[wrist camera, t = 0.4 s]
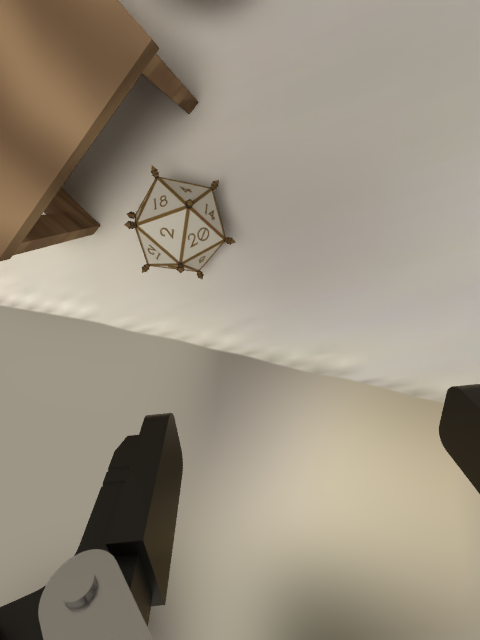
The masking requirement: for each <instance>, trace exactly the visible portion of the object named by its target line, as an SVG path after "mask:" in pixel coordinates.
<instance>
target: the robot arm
mask: <svg viewBox="0 0 480 640" xmlns="http://www.w3.org/2000/svg"><path fill="white" fill-rule="evenodd" d="M439 435H440V438H441V442H442V444H443V446H444V448H445V449H446V451H447V452H448V453H449V455H450V456H451V457H452V458H453V460H454V461H455V462H456V463H457V465H458V466H459V467H460V469H461V470H462V471H463V473H464V474H465V475H466V477H467V478H468V479H469V481H470V482H471V483H472V484H473V486H474V487H475V488H476V490H477V491H478V492H479V494H480V384H474V385H464V386H454V387H450V388H449V389H448V391H447V394H446V398H445V403H444V407H443V411H442V416H441V420H440V425H439ZM182 469H183V459H182V451H181V446H180V442H179V437H178V432H177V428H176V424H175V418H174V415H173V414H172V413H167V414H157V415H147V416H146V417H145V418H144V421H143V424H142V427H141V431H140V434H139V435H134V436H127V437H126V438H125V440H124V441H123V442H122V443H121V445H120V446H119V447H118V448H117V449H116V450H115V452H114V454H113V457H112V460H111V462H110V465H109V468H108V472H107V473H106V476H105V479H104V481H103V487H101V489H100V492H99V495H98V497H97V500H96V503H95V505H94V508H93V511H92V513H91V516H90V519H89V521H88V524H87V527H86V529H85V532H84V535H83V537H82V540H81V543H80V545H79V547H78V550H77V552H76V554H75V555H74V557H72V558H70V559H69V560H68V561H67V562H66V563H64V564H63V565H62V566H61V567H60V568H59V569H58V570H57V571H56V572H55V573H54V574H53V576H52V577H51V579H50V580H49V582H48V583H47V585H46V586H44V587H43V588H41V589H40V590H38V591H36V592H34V593H31V594H29V595H27V596H25V597H22V598H20V599H18V600H16V601H14V602H11V603H9V604H7V605H4V606H2V607H0V640H153V638H152V636H151V634H150V632H149V630H148V621H149V615H150V609H151V606H157V605H165V602H166V594H167V586H168V579H169V571H170V564H171V556H172V548H173V541H174V533H175V526H176V518H177V510H178V503H179V495H180V488H181V480H182V471H183V470H182Z"/></svg>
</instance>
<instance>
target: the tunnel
mask: <svg viewBox="0 0 480 640" xmlns="http://www.w3.org/2000/svg"><path fill="white" fill-rule="evenodd" d="M158 50H159V47H158V46H157V45H156V44H155V42H154V41H153V40H152V39H151V37H150V36H149V35H148V34H147V33H146V32H145V31H144V30H143V28H142V27H141V26H140V25H139V24H138V23H137V22H136V20H135V19H134V18H133V17H132V16H131V15H130V14H129V13H128V11H127V10H126V9H125V8H124V7H123V6H122V5H121V3H120V2H119V1H118V0H0V261H3V260H7V259H10V258H11V257H12V256H13V255H17V254H20V253H24V252H28V251H32V250H35V249H39V248H43V247H47V246H51V245H54V244H58V243H62V242H66V241H69V240H73V239H77V238H81V237H85V236H88V235H92V234H94V233H95V232H96V230H97V229H98V228H99V226H100V224H98V223H97V222H96V221H95V220H94V219H93V218H92V217H91V216H90V215H89V214H88V213H87V212H86V211H85V210H84V209H83V208H81V207H80V206H79V205H78V204H77V203H76V202H75V201H74V200H73V199H72V198H71V197H70V196H69V195H68V194H67V193H66V192H65V191H63V190H62V189H61V186H62V185H63V184H64V182H65V181H66V179H67V178H68V177H69V175H70V174H71V172H72V171H73V170H74V168H75V167H76V165H77V164H78V163H79V161H80V160H81V158H82V157H83V155H84V154H85V153H86V151H87V150H88V148H89V147H90V146H91V144H92V143H93V141H94V140H95V139H96V137H97V136H98V134H99V133H100V132H101V130H102V129H103V127H104V126H105V124H106V123H107V122H108V120H109V119H110V117H111V116H112V115H113V113H114V112H115V110H116V109H117V108H118V106H119V105H120V103H121V102H122V101H123V99H124V98H125V96H126V95H127V94H128V92H129V91H130V89H131V88H132V86H133V85H134V84H135V82H136V81H137V79H138V78H139V77H140V75H141V74H143V75H145V76H146V77H147V78H148V79H149V80H150V81H151V82H153V83H154V84H155V85H156V86H157V87H158V88H159V89H161V90H162V91H163V92H164V93H165V94H166V95H168V96H169V97H170V98H171V99H172V100H173V101H174V102H176V103H177V104H178V105H179V106H180V107H181V108H182V109H184V110H185V111H186V112H187V113H188V114H190V113H191V111H192V110H193V109H194V108H195V106H196V105H197V104H198V101H197V100H196V99H195V98H194V97H193V95H192V94H191V93H190V92H189V91H188V90H187V89H186V87H185V86H184V85H183V84H182V83H181V82H180V80H179V79H178V78H177V77H176V76H175V75H174V74H173V72H172V71H171V70H170V69H169V68H168V67H167V66H166V64H165V63H164V62H163V61H162V60H161V59H160V58H159V56H158V55H157V54H156V53H157V51H158ZM43 212H44V213H45V215H42V213H43Z"/></svg>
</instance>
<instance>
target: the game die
mask: <svg viewBox="0 0 480 640" xmlns="http://www.w3.org/2000/svg"><path fill="white" fill-rule="evenodd" d="M151 172H152V174H153V175H152V176H154V177H155V180H154V182H153V184H152V186H151V187H150V189H149V191H148V193H147V195H146V196H145V198H144V200H143V202H142V204H141V206H140V207H139V209H138V211H137V213H136V214H135V213H134V212H132V211H131V212H129V213H127V215H128V216H129V218H133V219H134V218H135V223H134V222H131V221H128V222H127V223H126V224H124V225H125V226H127V227H128V228H129V229H130V228H132V229H133V228H135V229H136V232H137V235H138V238H139V241H140V244H141V247H142V250H143V253H144V256H145V259H146V262H147V264H146V265H144V266H143V267H142V273H143V272H146V271H147V270H148V269H149V267H150V266H155V267H163V268H171V269H177V270H178V271H179V272H180V273H181V272H182V271H184V270H187V271H195V272H197V275H198V278H200V279H202V278H203V275H204V274H202V273H203V272H201V271H200V270H201V268H202V267H203V266H204V265H205V264H206V263H207V261H208V260H209V259H210V258H211V257H212V256H213V254H214V253H215V252H216V251H217V250H218V249H219V247H220V246H221V245H222V244H223V243H224V242H226V243H227V244H228V243H229V244H230V245H231V244H232V243H235V241H234V240H233V238H229V237H228V238H226V237H225V233H224V229H223V226H222V222H221V218H220V214H219V211H218V207H217V203H216V200H215V196H214V192H213V190H214V189H217V187H218V183H219V180H217V181H213V183H212V184H211V187H205V186H200V185H195V184H190V183H186V182H181V181H176V180H171V179H166V178H161V177H159V174H158V173H159V172H158V171H157V169H156V168H155V167H153V166H152V170H151Z"/></svg>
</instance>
